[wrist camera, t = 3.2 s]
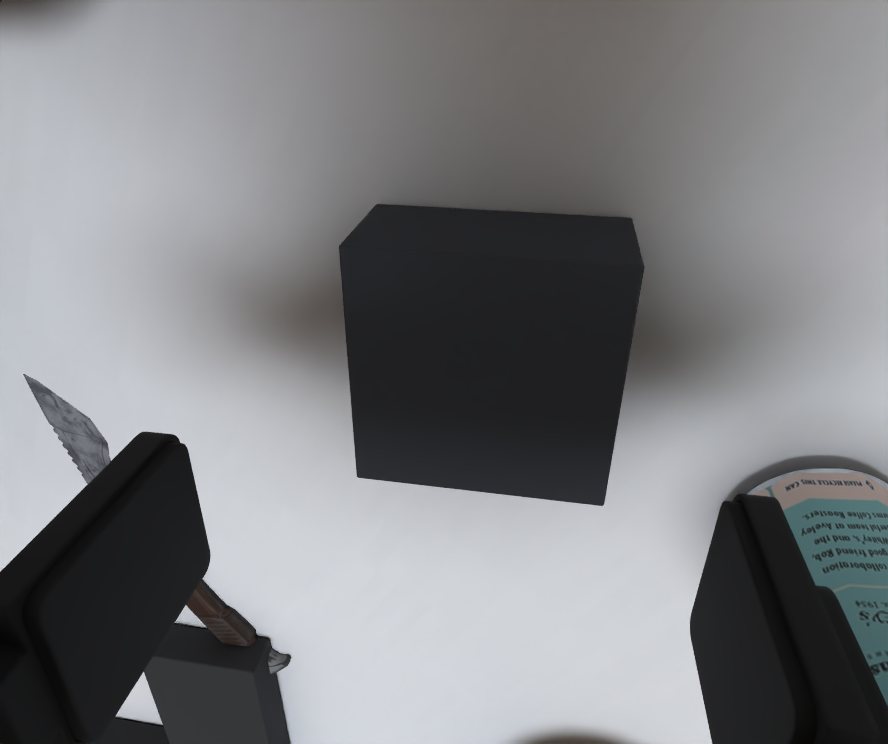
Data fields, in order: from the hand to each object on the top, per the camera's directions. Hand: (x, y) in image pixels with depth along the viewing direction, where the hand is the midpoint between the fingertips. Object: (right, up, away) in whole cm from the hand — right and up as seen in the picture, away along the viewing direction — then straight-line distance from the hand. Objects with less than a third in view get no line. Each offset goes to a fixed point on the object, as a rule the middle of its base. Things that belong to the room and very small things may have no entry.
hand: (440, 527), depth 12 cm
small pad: (+1, +4, +5) cm, 7 cm away
